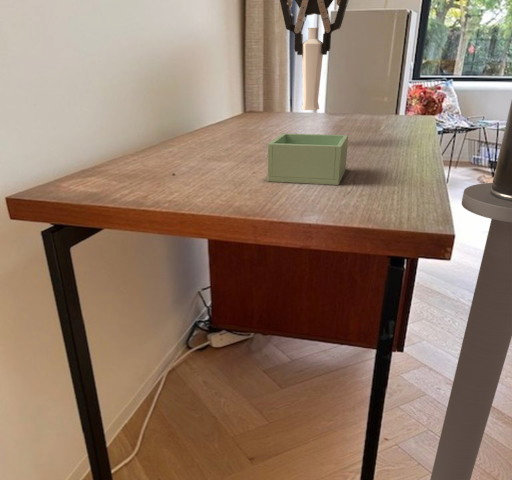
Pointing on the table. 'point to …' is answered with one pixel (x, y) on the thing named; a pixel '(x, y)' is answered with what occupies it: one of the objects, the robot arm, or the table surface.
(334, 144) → the bin
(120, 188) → the table surface
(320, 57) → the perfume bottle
